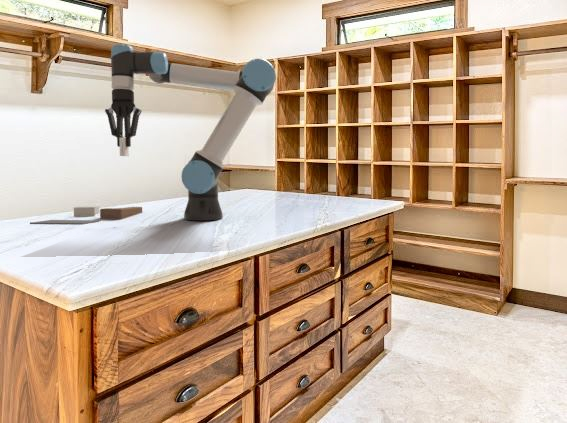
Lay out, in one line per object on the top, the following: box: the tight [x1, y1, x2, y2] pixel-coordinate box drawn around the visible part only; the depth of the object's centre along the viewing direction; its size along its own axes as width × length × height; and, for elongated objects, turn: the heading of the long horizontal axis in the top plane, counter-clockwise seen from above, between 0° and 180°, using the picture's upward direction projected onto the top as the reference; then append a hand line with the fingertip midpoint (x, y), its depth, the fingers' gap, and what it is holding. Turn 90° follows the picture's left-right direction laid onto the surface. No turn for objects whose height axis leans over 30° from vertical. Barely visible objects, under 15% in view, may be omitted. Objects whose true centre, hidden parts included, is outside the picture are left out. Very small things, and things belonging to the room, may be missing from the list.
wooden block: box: [99, 206, 143, 220], centre depth 194 cm, size 9×4×18 cm
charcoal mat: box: [29, 219, 102, 225], centre depth 176 cm, size 20×13×1 cm, turn 83°
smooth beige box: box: [73, 205, 100, 217], centre depth 196 cm, size 8×8×5 cm
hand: (124, 155), depth 172 cm, fingers closed
